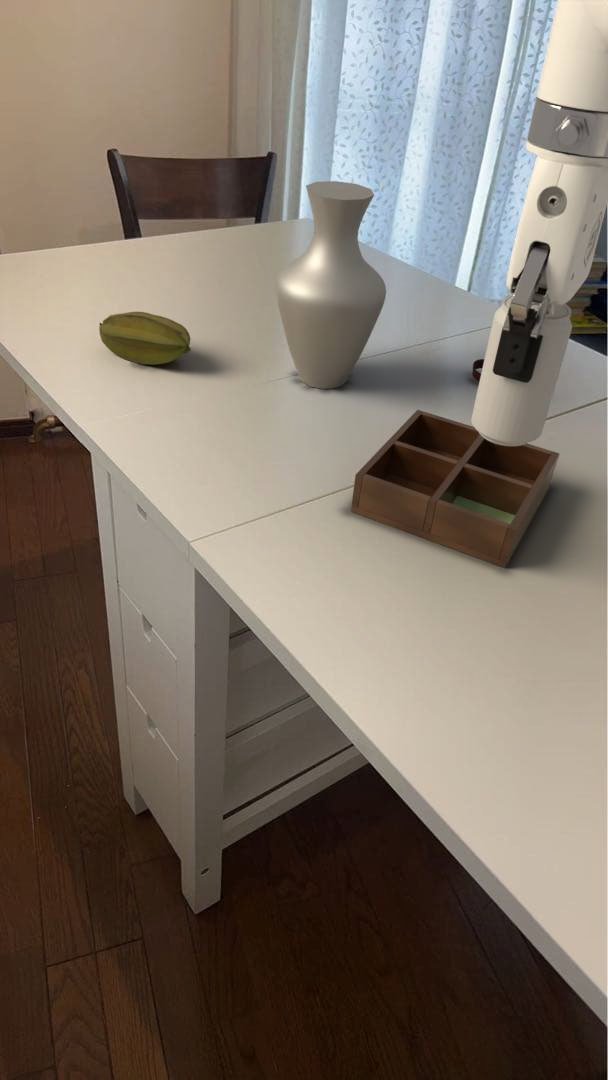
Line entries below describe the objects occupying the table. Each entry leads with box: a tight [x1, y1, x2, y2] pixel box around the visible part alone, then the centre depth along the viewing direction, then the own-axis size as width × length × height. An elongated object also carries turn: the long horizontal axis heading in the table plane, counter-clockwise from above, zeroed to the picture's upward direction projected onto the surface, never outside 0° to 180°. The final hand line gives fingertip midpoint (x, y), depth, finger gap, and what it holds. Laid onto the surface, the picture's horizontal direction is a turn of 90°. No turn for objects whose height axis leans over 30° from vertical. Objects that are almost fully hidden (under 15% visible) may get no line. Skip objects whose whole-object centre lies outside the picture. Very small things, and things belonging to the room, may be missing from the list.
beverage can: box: [470, 293, 573, 446], centre depth 69 cm, size 6×6×12 cm
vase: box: [274, 180, 387, 390], centre depth 104 cm, size 14×14×25 cm
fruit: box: [98, 311, 192, 366], centre depth 110 cm, size 11×12×7 cm
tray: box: [350, 409, 560, 569], centre depth 88 cm, size 17×17×5 cm
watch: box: [471, 358, 485, 383], centre depth 113 cm, size 8×5×4 cm, turn 70°
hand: (523, 360), depth 68 cm, fingers closed on beverage can, 6 cm apart
